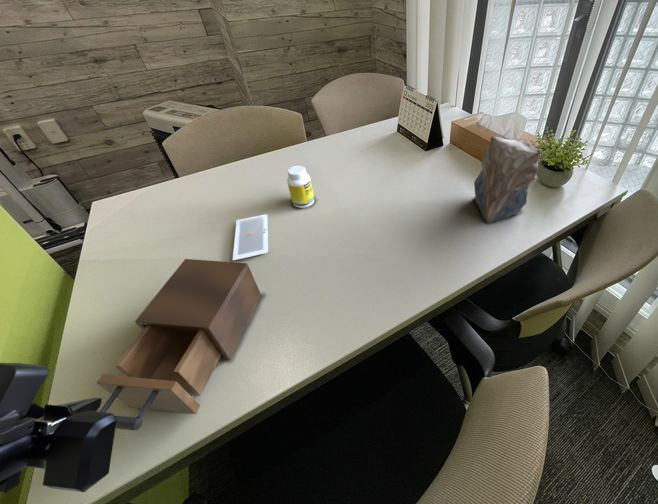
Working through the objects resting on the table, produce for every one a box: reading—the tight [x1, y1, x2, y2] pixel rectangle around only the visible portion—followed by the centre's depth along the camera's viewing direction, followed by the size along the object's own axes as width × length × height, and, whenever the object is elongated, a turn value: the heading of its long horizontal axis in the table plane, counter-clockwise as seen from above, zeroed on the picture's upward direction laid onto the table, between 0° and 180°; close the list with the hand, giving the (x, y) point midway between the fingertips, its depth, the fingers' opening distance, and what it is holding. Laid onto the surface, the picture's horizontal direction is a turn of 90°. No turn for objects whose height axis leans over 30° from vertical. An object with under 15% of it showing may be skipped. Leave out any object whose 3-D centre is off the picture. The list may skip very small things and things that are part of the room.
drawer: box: [95, 325, 222, 432], centre depth 51 cm, size 17×11×9 cm, turn 175°
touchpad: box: [232, 213, 269, 261], centre depth 82 cm, size 8×15×2 cm, turn 18°
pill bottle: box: [286, 164, 315, 209], centre depth 91 cm, size 6×6×11 cm
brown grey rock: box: [473, 135, 543, 224], centre depth 86 cm, size 13×13×20 cm
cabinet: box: [134, 258, 263, 361], centre depth 61 cm, size 14×13×11 cm
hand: (98, 401), depth 41 cm, fingers closed
